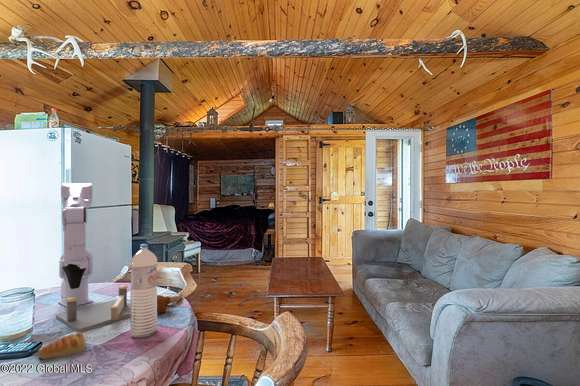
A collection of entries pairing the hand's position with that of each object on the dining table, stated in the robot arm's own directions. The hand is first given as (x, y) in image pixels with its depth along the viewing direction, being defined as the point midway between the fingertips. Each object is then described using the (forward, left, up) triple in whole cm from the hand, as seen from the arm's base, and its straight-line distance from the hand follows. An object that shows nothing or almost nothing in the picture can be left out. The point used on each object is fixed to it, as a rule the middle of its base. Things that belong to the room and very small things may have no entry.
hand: (74, 288), depth 100 cm
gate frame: (+4, +6, -9) cm, 12 cm away
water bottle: (+28, +7, -10) cm, 30 cm away
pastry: (+22, -10, -10) cm, 26 cm away
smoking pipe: (+13, +23, -10) cm, 28 cm away
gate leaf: (+10, +9, -8) cm, 15 cm away
